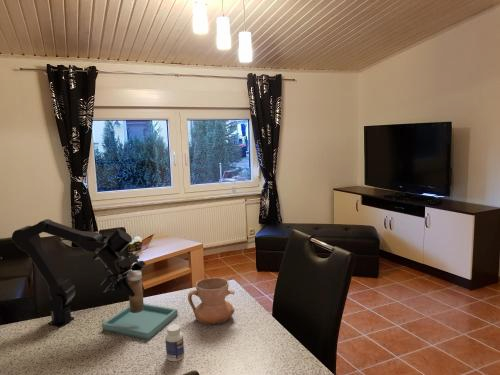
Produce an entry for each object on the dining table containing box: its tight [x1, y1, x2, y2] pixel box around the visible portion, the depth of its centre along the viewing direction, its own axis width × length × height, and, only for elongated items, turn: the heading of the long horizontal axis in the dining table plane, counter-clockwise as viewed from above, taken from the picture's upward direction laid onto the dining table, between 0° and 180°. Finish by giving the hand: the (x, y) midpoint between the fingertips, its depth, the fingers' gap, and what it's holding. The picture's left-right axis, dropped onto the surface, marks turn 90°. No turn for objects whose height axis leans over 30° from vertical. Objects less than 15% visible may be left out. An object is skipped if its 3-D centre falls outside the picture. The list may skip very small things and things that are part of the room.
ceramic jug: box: [187, 277, 236, 326], centre depth 134 cm, size 18×14×14 cm
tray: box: [101, 303, 179, 341], centre depth 133 cm, size 20×18×2 cm
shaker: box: [126, 270, 145, 313], centre depth 129 cm, size 5×5×14 cm
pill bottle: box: [164, 324, 185, 362], centre depth 111 cm, size 5×5×10 cm
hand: (138, 293), depth 129 cm, fingers closed on shaker, 5 cm apart
